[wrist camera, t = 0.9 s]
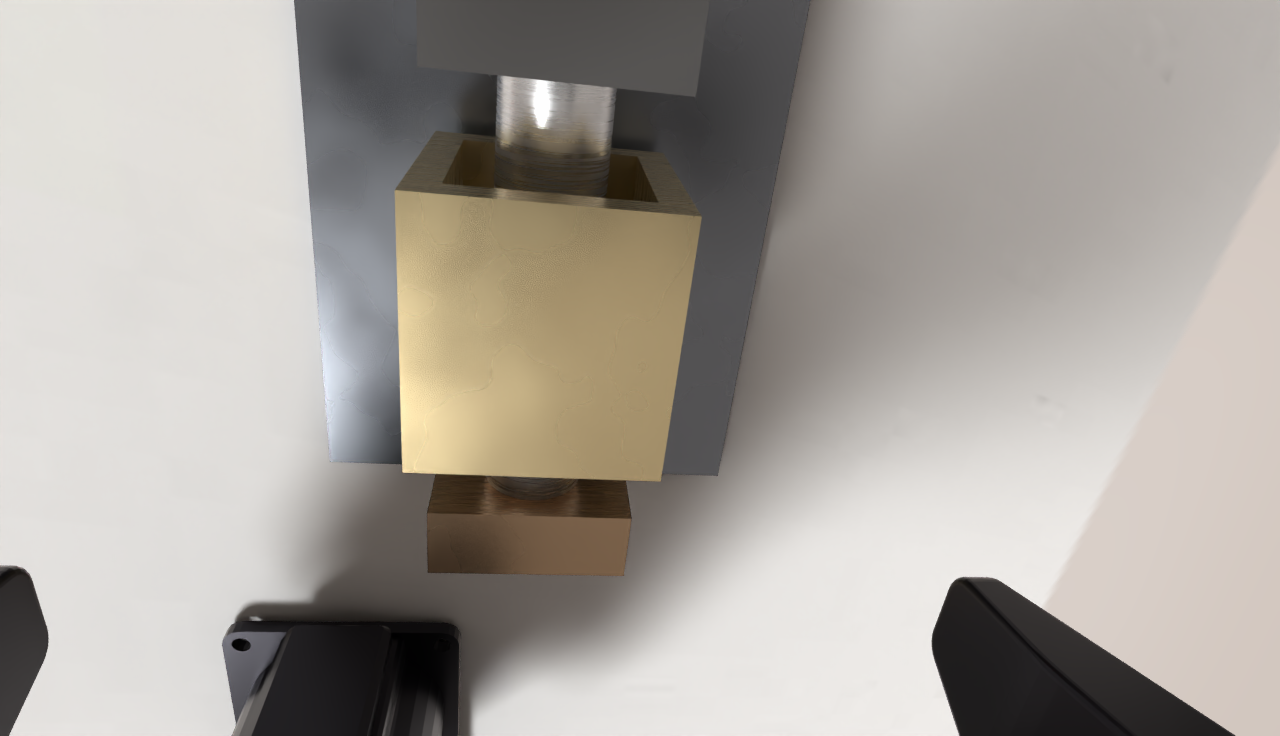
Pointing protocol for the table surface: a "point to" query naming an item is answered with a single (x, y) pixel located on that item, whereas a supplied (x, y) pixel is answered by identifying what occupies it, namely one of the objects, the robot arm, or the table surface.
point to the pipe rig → (538, 162)
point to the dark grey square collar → (568, 41)
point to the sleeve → (539, 317)
